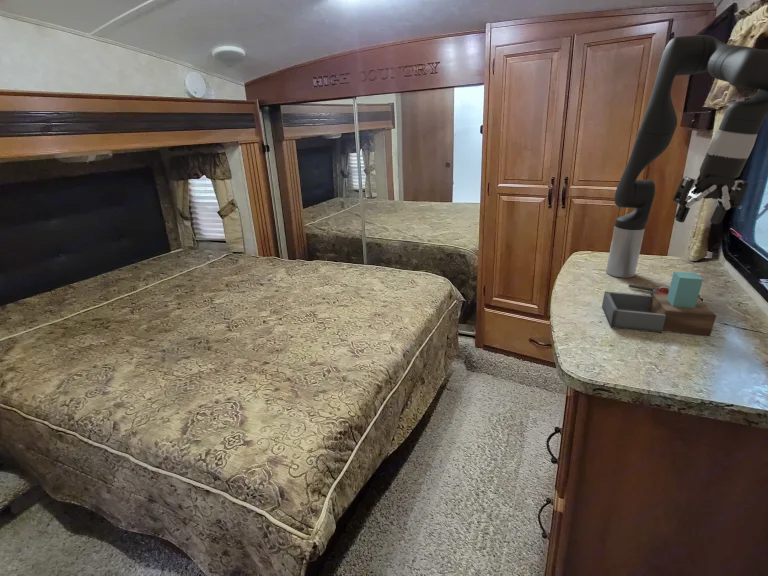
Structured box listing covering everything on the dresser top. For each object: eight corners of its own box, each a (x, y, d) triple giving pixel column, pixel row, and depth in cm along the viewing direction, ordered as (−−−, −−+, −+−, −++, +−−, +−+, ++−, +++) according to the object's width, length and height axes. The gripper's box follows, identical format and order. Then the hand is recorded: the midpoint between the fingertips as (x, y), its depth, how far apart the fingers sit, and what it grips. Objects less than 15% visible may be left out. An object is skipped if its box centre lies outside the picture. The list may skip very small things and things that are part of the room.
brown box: (648, 312, 119) (652, 293, 116) (692, 316, 115) (698, 297, 113) (660, 331, 108) (665, 310, 106) (709, 336, 105) (716, 315, 103)
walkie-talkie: (702, 301, 126) (628, 288, 137) (706, 288, 124) (631, 275, 135) (701, 311, 119) (624, 296, 131) (705, 297, 118) (626, 283, 129)
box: (601, 306, 123) (604, 291, 121) (647, 311, 119) (651, 295, 118) (610, 327, 111) (613, 310, 109) (661, 333, 107) (666, 315, 105)
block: (666, 299, 113) (673, 271, 110) (688, 300, 111) (695, 273, 108) (672, 306, 108) (680, 277, 105) (694, 308, 107) (703, 279, 104)
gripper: (746, 151, 95) (714, 218, 103) (685, 148, 95) (658, 215, 103) (772, 158, 88) (736, 229, 96) (707, 154, 88) (677, 226, 96)
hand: (696, 222), depth 99 cm, fingers open, 8 cm apart
